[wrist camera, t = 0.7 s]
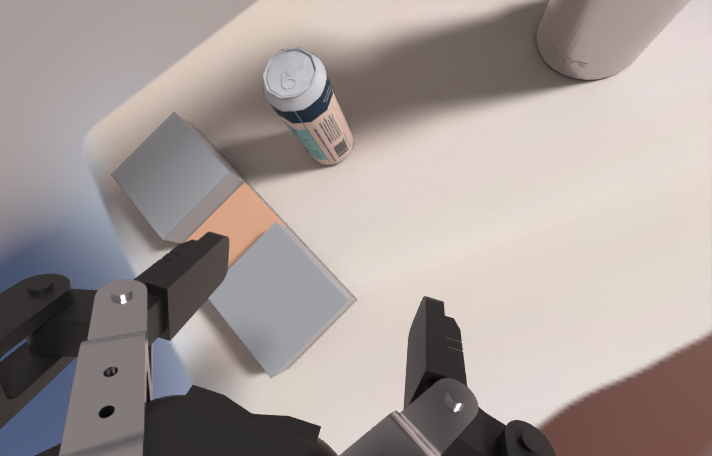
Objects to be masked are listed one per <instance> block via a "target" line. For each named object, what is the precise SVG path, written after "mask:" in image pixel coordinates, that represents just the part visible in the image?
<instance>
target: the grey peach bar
mask: <svg viewBox="0 0 712 456" xmlns="http://www.w3.org/2000/svg"><path fill="white" fill-rule="evenodd" d="M111 175H112V177H113V178H114V179H115V180H116V182H117V183H118V184H119V185H120V187H121V188H122V189H123V191H124V192H125V193H126V194H127V196H128V197H129V198H130V200H131V201H132V202H133V203H134V205H135V206H136V207H137V208H138V210H139V211H140V212H141V214H142V215H143V216H144V217H145V219H146V220H147V221H148V222H149V224H150V225H151V226H152V228H153V229H154V230H155V231H156V233H157V234H158V235H159V237H160V238H161V239H162V240H167V241H171V242H176V243H181V244H182V243H184V242H187V241H190V240H192V239H193V240H199V239H200V238H201V237H202V236H203V235H205V234H206V233H207V232H214V233H217V234H221V235H224V236H227V237H229V241H230V242H229V261H228V271H227V274H226V277H225V279H224V280H223V282H222V283H221V284H220V285H219V287H218V288H217V289H216V290H215V291H214V292H213V293H212V294H211V296H210V297H209V298H208V299H209V300H210V302H211V303H212V304H213V305H214V307H215V308H216V309H217V311H218V312H219V313H220V314H221V316H222V317H223V318H224V319H225V321H226V322H227V323H228V325H229V326H230V327H231V328H232V330H233V331H234V332H235V333H236V335H237V336H238V337H239V339H240V340H241V341H242V342H243V344H244V345H245V346H246V347H247V349H248V350H249V351H250V353H251V354H252V355H253V356H254V358H255V359H256V360H257V362H258V363H259V364H260V365H261V367H262V368H263V369H264V370H265V372H266V373H267V374H268V376H269V377H270V378H273V377H274V376H276V375H278V374H280V373H282V372H283V371H285V370H287V369H289V368H290V367H291V366H292V365H293V364H294V363H295V362H296V361H297V360H298V359H299V358H300V357H301V356H302V355H303V354H304V353H305V352H306V351H307V350H308V349H309V348H310V347H311V346H312V345H313V344H314V343H315V342H316V341H317V340H318V339H319V338H320V337H321V336H322V334H323V333H324V332H325V331H326V330H327V329H328V328H329V327H330V326H331V325H332V324H333V323H334V322H335V321H336V320H337V319H338V318H339V317H340V316H341V315H342V314H343V313H344V312H345V311H346V310H347V309H348V308H349V307H350V306H351V305H352V304H353V303H354V302H355V301H356V300H357V299H356V298H355V297H354V296H353V295H352V294H351V292H350V291H349V290H348V289H347V288H346V287H345V286H344V285H343V284H342V283H341V282H340V281H339V280H338V279H337V278H336V276H335V275H334V274H333V273H332V272H331V271H330V270H329V269H328V268H327V267H326V266H325V265H324V264H323V263H322V261H321V260H320V259H319V258H318V257H317V256H316V255H315V254H314V253H313V252H312V251H311V250H310V249H309V248H308V247H307V245H306V244H305V243H304V242H303V241H302V240H301V239H300V238H299V237H298V236H297V235H296V234H295V233H294V232H293V230H292V229H291V228H290V227H289V226H288V225H287V224H286V223H285V222H284V221H283V220H282V219H281V218H280V217H279V215H278V214H277V213H276V212H275V211H274V210H273V209H272V208H271V207H270V206H269V205H268V204H267V203H266V202H265V201H264V199H263V198H262V197H261V196H260V195H259V194H258V193H257V192H256V191H255V190H254V189H253V188H252V187H251V186H250V184H249V183H248V182H247V181H246V180H245V179H244V178H243V177H242V176H241V175H240V174H239V173H238V172H237V171H236V170H235V168H234V167H233V166H232V165H231V164H230V163H229V162H228V161H227V160H226V159H225V158H224V157H223V156H222V155H221V153H220V152H219V151H218V150H217V149H216V148H215V147H214V146H213V145H212V144H211V143H210V142H209V141H208V140H207V139H206V137H205V136H204V135H203V134H202V133H201V132H200V131H199V130H198V129H197V128H195V127H194V126H192V125H191V124H190V123H188V122H187V121H186V120H184V119H183V118H182V117H180V116H179V115H178V114H176V113H175V112H173V113H172V114H171V115H170V116H169V117H168V118H167V119H166V120H165V121H164V122H163V123H162V124H161V125H160V126H159V127H158V128H157V129H156V130H155V131H154V132H153V133H152V134H151V135H150V136H149V137H148V138H147V139H146V140H145V141H144V142H143V143H142V144H141V145H140V146H139V147H138V148H137V149H136V150H135V151H134V152H133V153H132V154H131V155H130V156H129V157H128V158H127V159H126V160H125V161H124V162H123V163H122V164H121V165H120V166H119V167H118V168H117V169H116V170H115V171H114V172H113V173H112V174H111Z"/></svg>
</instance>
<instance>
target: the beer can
mask: <svg viewBox="0 0 712 456" xmlns="http://www.w3.org/2000/svg"><path fill="white" fill-rule="evenodd" d="M262 76H263V90H264V94H265V97H266V99H267V100H268V102H269V103H270V105H271V106H272V107H273V108H274V110H275V111H276V112H277V113H278V115H279V116H280V117H281V118H282V120H283V121H284V122H285V124H286V125H287V126H288V127H289V129H290V130H291V131H292V132H293V134H294V135H295V136H296V137H297V139H298V140H299V141H300V142H301V144H302V145H303V146H304V147H305V149H306V150H307V151H308V153H309V154H310V155H311V156H312V157H313V159H315V160H316V161H317V162H319V163H321V164H324V165H333V164H337V163H340V162H341V161H343V160H344V159H345V158H347V157H348V155H349V154H350V153H351V151H352V148H353V145H354V137H353V133H352V131H351V129H350V128H349V125H348V123H347V121H346V118H345V116H344V114H343V111H342V109H341V107H340V104H339V102H338V100H337V97H336V95H335V93H334V90H333V88H332V86H331V83H330V81H329V79H328V76H327V74H326V70H325V67H324V65H323V63H322V62H321V61H320V59H319V58H318V57H317V56H315V55H313V54H311V53H309V52H307V51H305V50H303V49H301V48H299V47H297V48H289V49H282V50H281V51H279V52H278V53H277V54H275V55H274V56H273V57H272V58H270V59H269V60H268V62H267V65H266V67H265V70H264V73H263V75H262Z"/></svg>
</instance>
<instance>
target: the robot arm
mask: <svg viewBox="0 0 712 456" xmlns="http://www.w3.org/2000/svg"><path fill="white" fill-rule="evenodd" d="M689 1H690V0H550V1H549V3H548V5H547V7H546V10H545V12H544V14H543V17H542V19H541V21H540V24H539V26H538V29H537V37H536V40H537V47H538V50H539V52H540V54H541V56H542V58H543V59H544V60H545V62H546V63H547V64H548V65H549V66H550V67H552V68H553V69H554V70H555V71H557V72H559V73H561V74H563V75H565V76H569V77H572V78H576V79H584V80H592V79H601V78H605V77H610V76H612V75H614V74H617V73H619V72H621V71H622V70H624V69H625V68H627V67H628V66H629V65H630V64H631V63H632V62H633V61H634V60H635V59H636V58H637V57H638V56H639V55H640V54H641V53H642V52H643V51H644V50H645V48H646V47H647V46H648V45H649V44H650V43H651V42H652V41H653V40H654V39H655V38H656V37H657V36H658V34H659V33H660V32H661V31H662V30H663V29H664V28H665V27H666V26H667V25H668V24H669V23H670V22H671V21H672V19H673V18H674V17H675V16H676V15H677V14H678V13H679V12H680V11H681V10H682V9H683V7H684V6H685V5H686V4H687V3H688V2H689ZM229 242H230V241H229V237H227V236H224V235H221V234H217V233H214V232H207V233H206V234H205V235H203V236H202V237H201V238H200V239H199V240H193V239H192V240H190V241H187V242H184V243H182V244H179V245H178V246H177V247H175V248H174V249H173V250H171V251H170V253H168V254H166V255H165V256H164V257H162V259H160V260H159V261H157V262H156V263H155V264H153V265H152V266H151V267H149V268H148V269H147V270H146V271H144V272H143V273H142V274H140V275H139V276H138V277H137V278H135V279H134V280H119V281H115V282H111V283H109V284H107V285H105V286H103V287H102V288H100V289H99V290H81V289H71V285H70V281H69V279H68V278H66V277H65V276H62V275H58V274H43V275H37V276H33V277H30V278H27V279H25V280H23V281H21V282H19V283H17V284H16V285H14V286H12V287H11V288H9V289H8V290H6V291H4V292H2V293H1V294H0V358H1V357H2V356H3V355H4V354H5V353H6V352H8V351H9V350H10V349H12V348H13V347H14V346H16V345H17V344H18V343H19V342H21V341H22V340H23V339H26V342H25V343H24V344H23V345H21V346H20V347H19V348H18V349H16V350H15V351H14V352H12V353H11V354H10V355H9V356H7V357H6V358H5V359H4V360H3V361H1V362H0V429H1V428H2V427H3V426H4V425H5V424H6V423H7V422H8V421H9V420H10V419H11V418H12V417H14V416H15V415H16V414H17V413H18V412H19V411H20V410H21V409H22V408H23V407H24V406H25V405H26V404H27V403H28V402H29V401H30V400H31V399H33V397H35V396H36V395H37V394H38V393H39V392H40V391H41V390H42V389H43V388H44V387H45V386H46V385H47V384H48V383H49V382H50V381H52V379H54V378H55V377H56V376H57V374H59V373H60V372H61V371H62V370H63V369H64V368H65V367H66V366H67V365H68V364H69V363H70V362H72V360H74V359H75V358H76V357H78V359H77V364H76V370H75V375H74V380H73V385H72V390H71V396H70V401H69V406H68V411H67V416H66V422H65V427H64V432H63V437H62V443H60V444H58V445H56V446H54V447H52V448H50V449H48V450H46V451H44V452H42V453H40V454H38V455H35V456H338V455H337V454H336V453H335V451H334V450H333V449H332V448H331V447H330V446H329V445H328V444H326V443H325V442H324V441H323V440H321V439H320V438H318V435H319V432H320V428H321V426H318V425H315V424H312V423H309V422H306V421H302V420H299V419H296V418H293V417H290V416H278V415H261V414H253V413H250V412H248V411H247V410H246V409H244V408H243V407H241V406H240V405H238V404H237V403H235V402H234V401H232V400H231V399H229V398H228V397H226V396H225V395H223V394H219V393H216V392H213V391H210V390H207V389H204V388H201V387H198V386H195V385H192V387H191V388H190V390H189V391H188V393H187V394H186V395H173V396H166V397H162V398H158V399H154V400H153V386H152V383H153V376H152V375H153V374H152V343H153V342H154V341H155V340H156V339H157V338H158V337H159V338H163V339H166V340H169V341H170V340H171V339H172V338H173V337H174V336H175V335H176V334H177V333H178V331H179V330H180V329H181V328H182V327H183V326H184V325H185V324H186V322H187V321H188V320H189V319H190V318H191V317H192V316H193V315H194V314H195V312H196V311H197V310H198V309H199V308H200V307H201V306H202V305H203V303H204V302H205V301H206V300H207V299H208V298H209V297H210V296H211V294H212V293H213V292H214V291H215V290H216V289H217V288H218V287H219V285H220V284H221V283H222V282H223V280H224V279H225V277H226V274H227V271H228V261H229ZM461 341H462V340H461V332H460V329H459V327H458V325H457V323H456V322H455V320H454V318H450V317H447V316H445V312H444V302H443V301H440V300H436V299H433V298H430V297H426V296H424V297H423V299H422V301H421V303H420V306H419V308H418V311H417V313H416V315H415V318H414V320H413V323H412V325H411V328H410V332H409V337H408V349H407V365H406V381H405V396H404V410H403V411H402V412H400V413H398V412H397V411H394V412H392V413H390V414H389V415H388V416H387V417H385V418H384V419H383V420H382V421H380V422H379V423H378V424H377V425H376V426H374V427H373V428H372V429H371V430H370V431H368V432H367V433H366V434H365V435H364V436H362V437H361V438H360V439H359V440H358V441H356V442H355V443H354V444H353V445H351V446H350V447H349V448H348V449H347V450H345V451H344V452H343V453H342V454H341V455H339V456H555V453H554V450H553V448H552V446H551V444H550V442H549V441H548V439H547V438H546V437H545V436H544V435H543V434H542V433H541V432H540V431H539V430H538V429H537V428H535V427H534V426H532V425H531V424H529V423H527V422H524V421H520V420H514V421H511V422H509V423H508V424H507V426H506V425H504V424H503V423H501V422H499V421H498V420H496V419H495V418H493V417H491V416H490V415H488V414H487V413H485V412H484V411H483V410H482V409H480V408H479V407H478V403H477V400H476V397H475V396H474V394H473V393H472V391H471V390H470V389H469V388H468V387H467V381H466V373H465V365H464V357H463V352H462V350H463V348H462V343H461Z"/></svg>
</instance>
